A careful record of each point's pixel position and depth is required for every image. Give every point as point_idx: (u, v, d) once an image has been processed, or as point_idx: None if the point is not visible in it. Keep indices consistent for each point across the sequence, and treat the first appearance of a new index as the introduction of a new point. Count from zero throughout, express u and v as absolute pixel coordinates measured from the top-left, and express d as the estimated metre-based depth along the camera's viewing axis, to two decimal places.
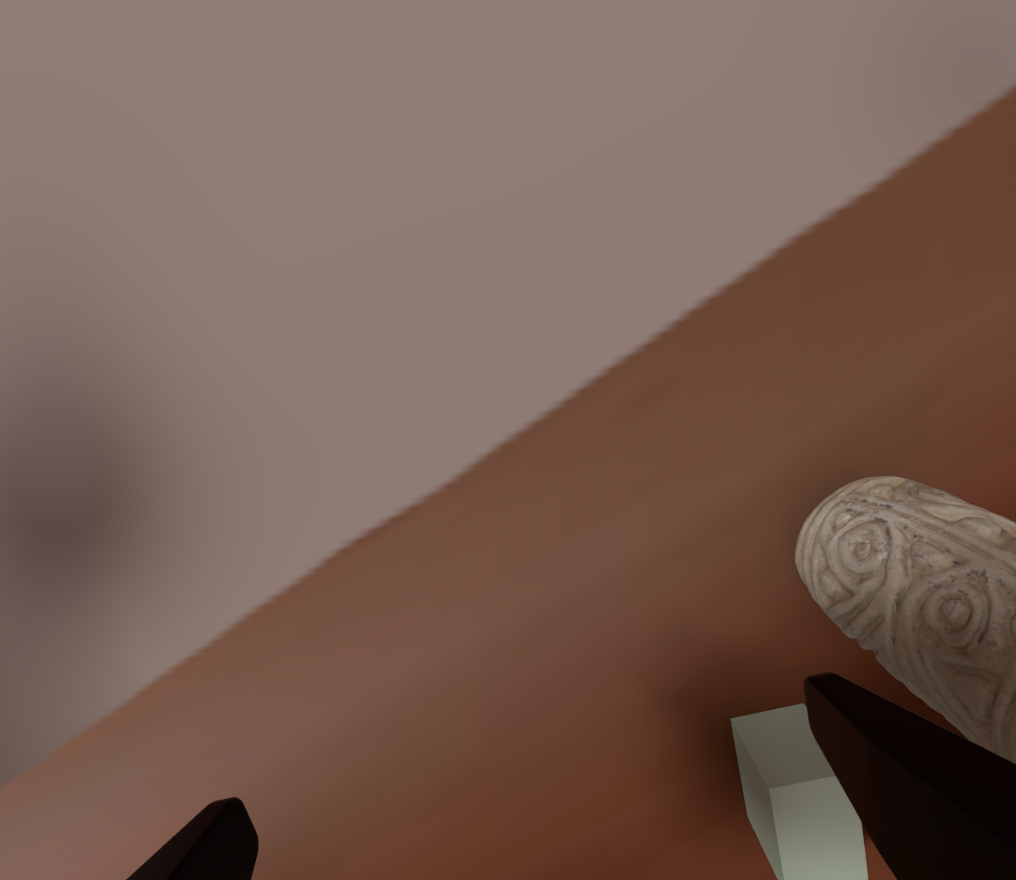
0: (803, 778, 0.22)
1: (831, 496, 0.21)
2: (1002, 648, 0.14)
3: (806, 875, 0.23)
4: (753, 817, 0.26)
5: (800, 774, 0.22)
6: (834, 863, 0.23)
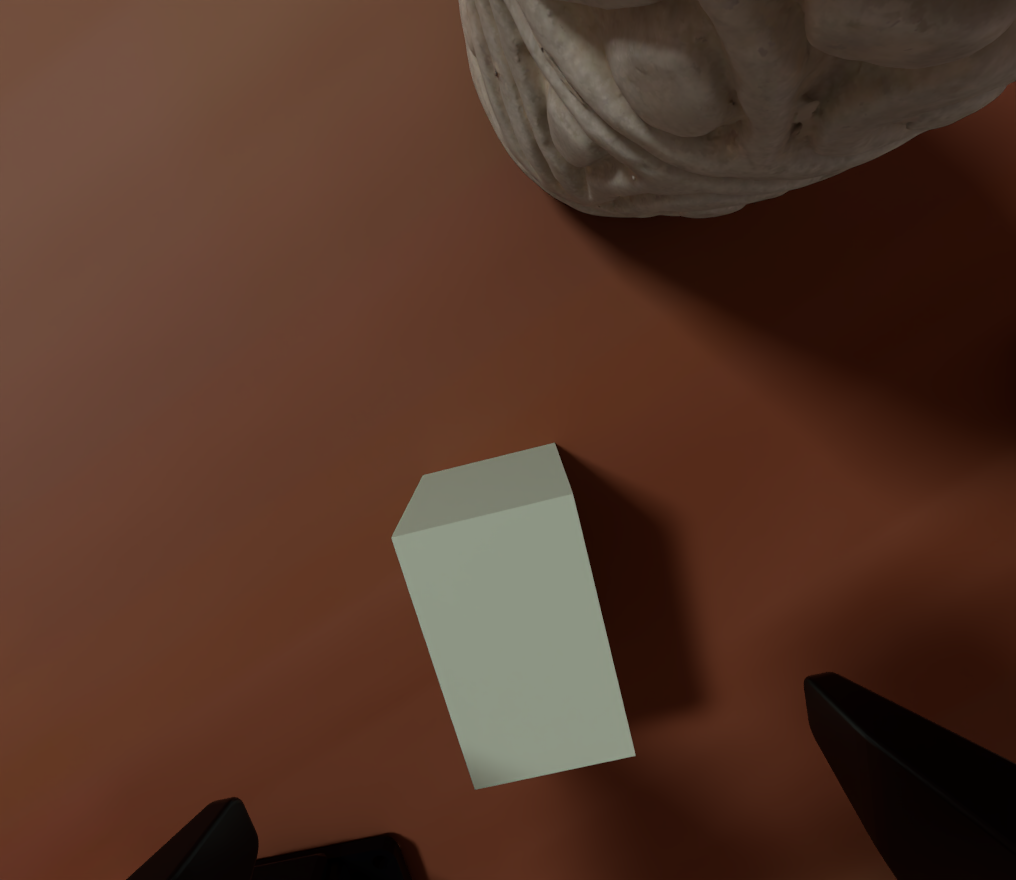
0: (467, 515, 0.10)
1: None
2: None
3: (505, 738, 0.11)
4: None
5: (467, 512, 0.10)
6: (558, 711, 0.11)
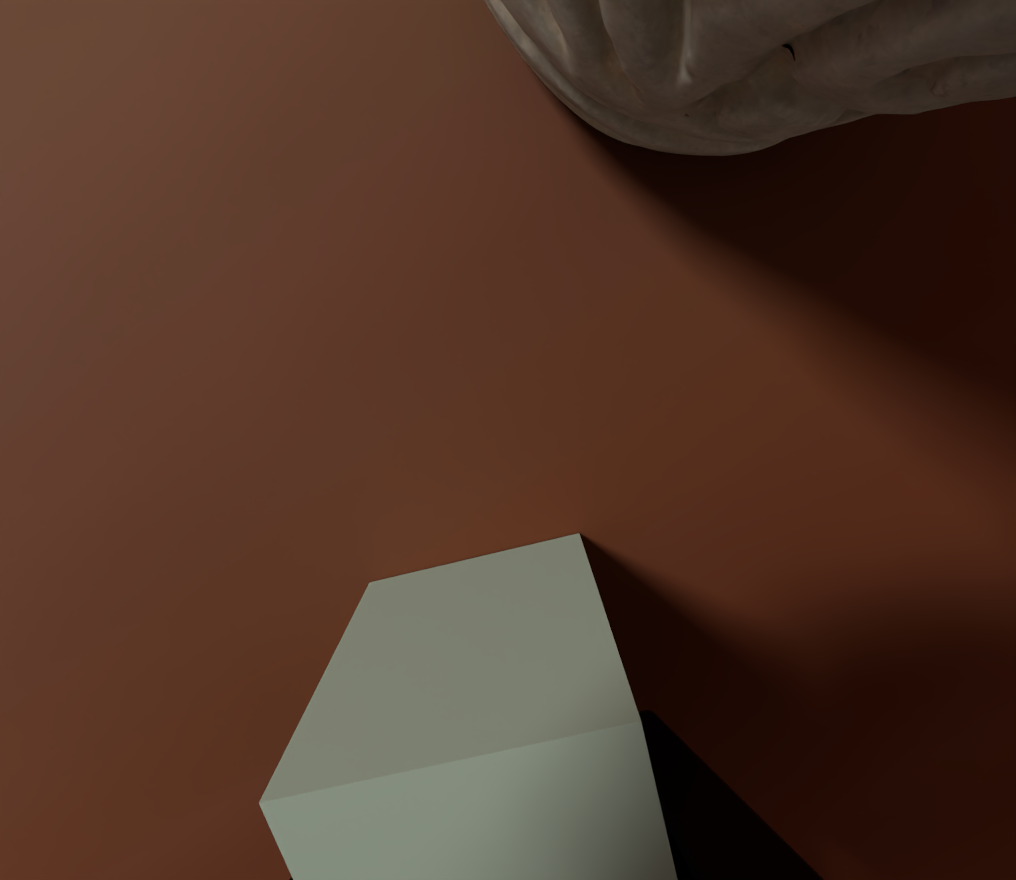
0: (418, 753, 0.05)
1: None
2: None
3: None
4: None
5: (421, 740, 0.05)
6: None
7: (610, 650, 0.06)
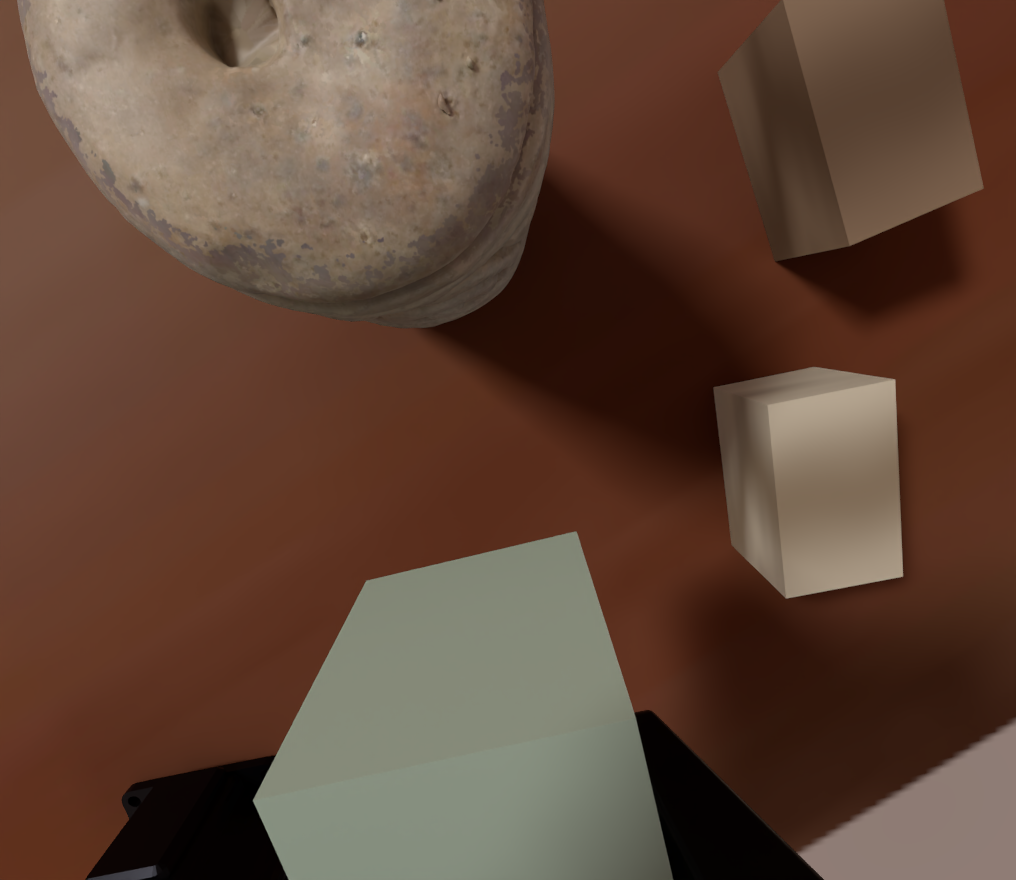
0: (413, 750, 0.05)
1: None
2: None
3: None
4: None
5: (414, 738, 0.05)
6: None
7: (605, 648, 0.06)
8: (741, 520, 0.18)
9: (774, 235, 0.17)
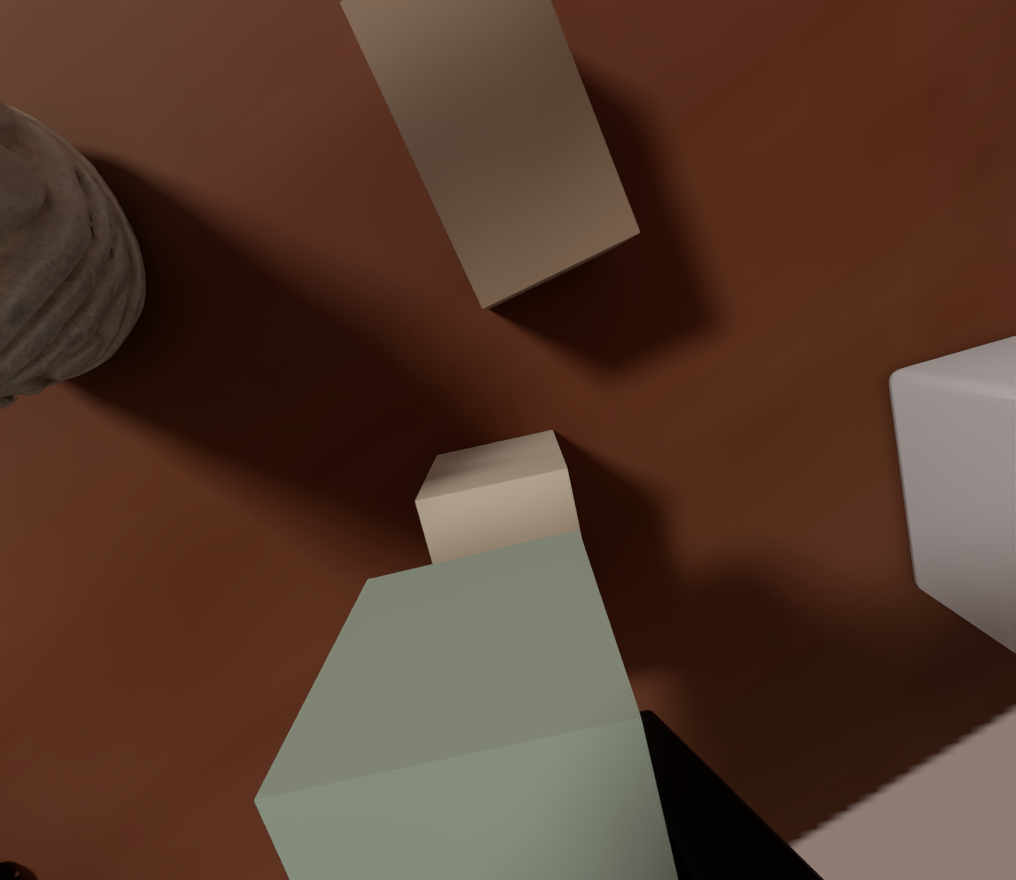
0: (416, 749, 0.05)
1: None
2: None
3: None
4: None
5: (417, 737, 0.05)
6: None
7: (609, 646, 0.06)
8: None
9: None
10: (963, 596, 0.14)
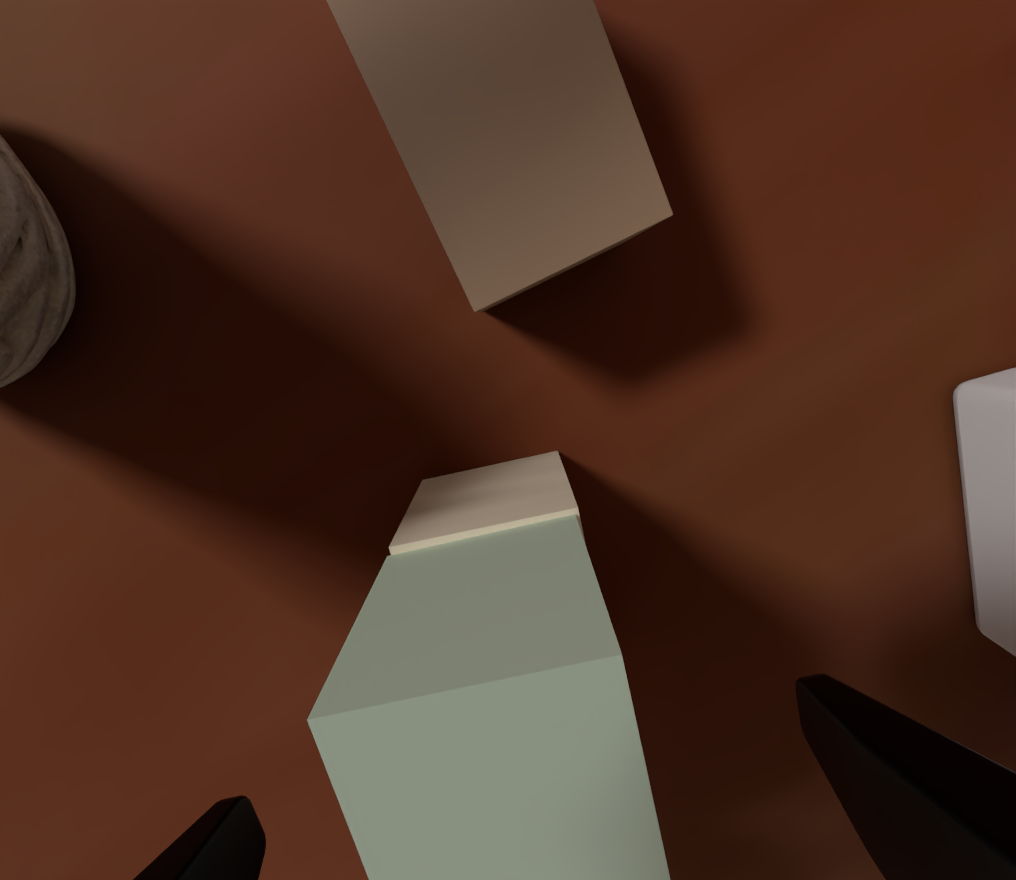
0: (439, 682, 0.06)
1: None
2: None
3: None
4: None
5: (439, 672, 0.06)
6: None
7: (599, 604, 0.07)
8: None
9: None
10: None
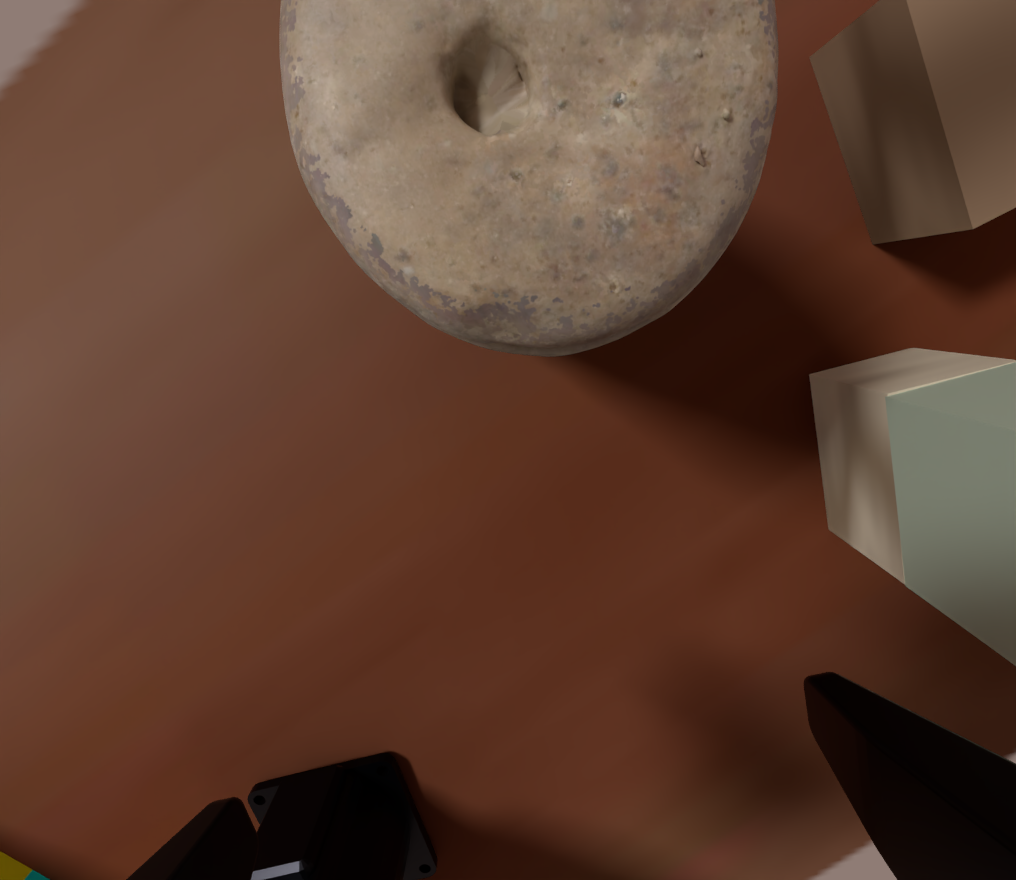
0: None
1: None
2: None
3: None
4: (930, 571, 0.15)
5: None
6: None
7: None
8: (843, 506, 0.18)
9: (873, 218, 0.17)
10: None
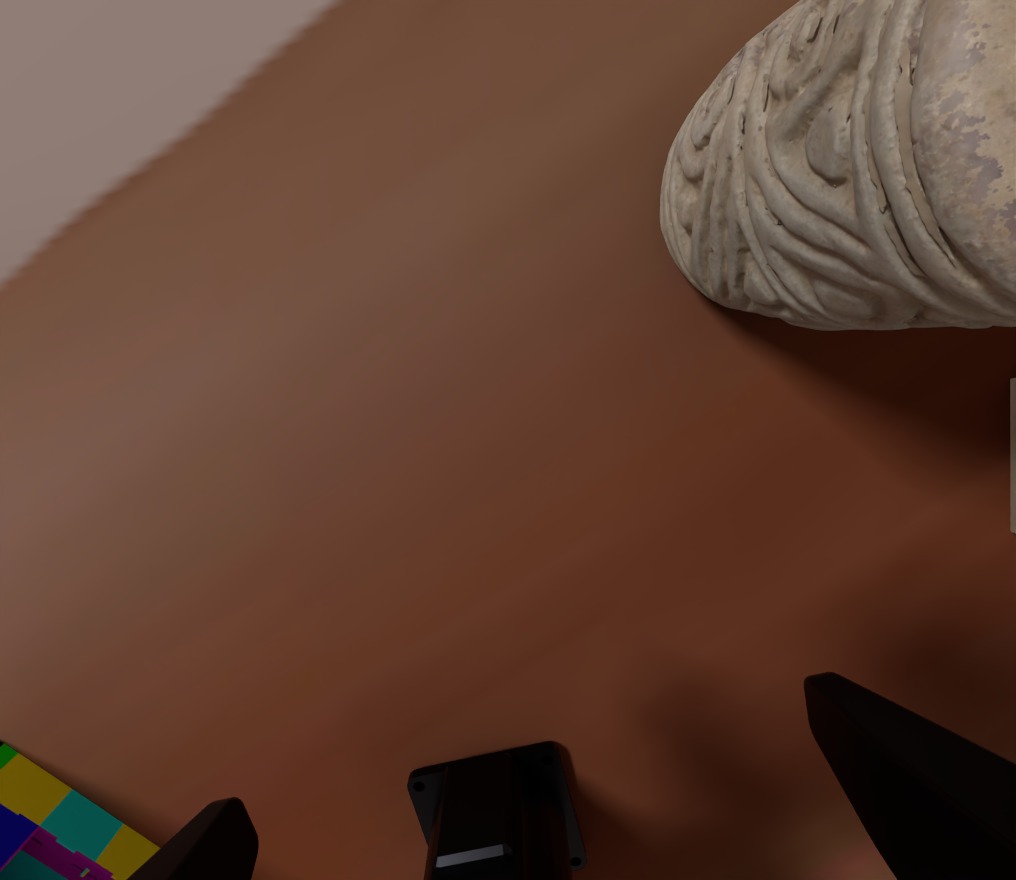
0: None
1: None
2: (863, 2, 0.08)
3: None
4: None
5: None
6: None
7: None
8: None
9: None
10: None
